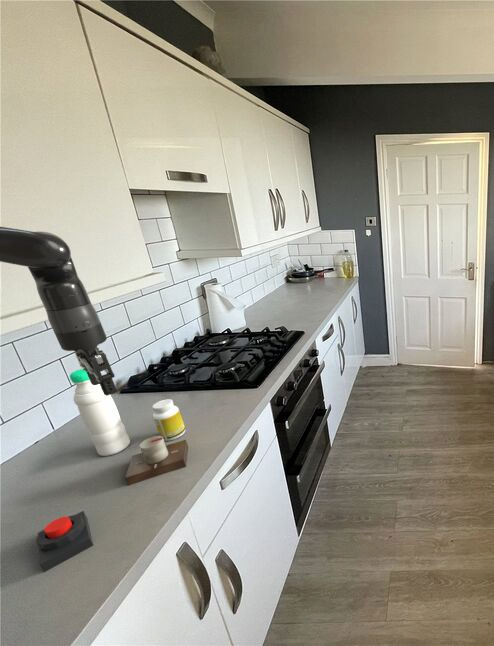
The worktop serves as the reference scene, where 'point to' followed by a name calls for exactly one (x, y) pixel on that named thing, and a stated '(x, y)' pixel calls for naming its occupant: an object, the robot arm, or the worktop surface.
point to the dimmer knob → (154, 449)
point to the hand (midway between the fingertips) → (104, 388)
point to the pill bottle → (168, 420)
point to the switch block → (65, 543)
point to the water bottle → (99, 415)
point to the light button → (58, 527)
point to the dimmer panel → (145, 471)
